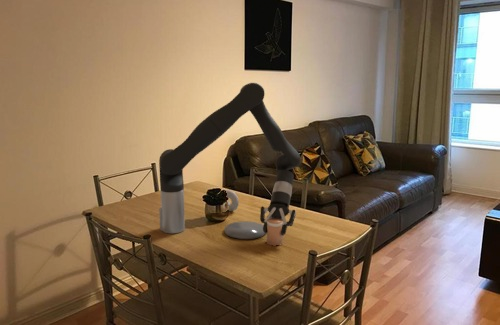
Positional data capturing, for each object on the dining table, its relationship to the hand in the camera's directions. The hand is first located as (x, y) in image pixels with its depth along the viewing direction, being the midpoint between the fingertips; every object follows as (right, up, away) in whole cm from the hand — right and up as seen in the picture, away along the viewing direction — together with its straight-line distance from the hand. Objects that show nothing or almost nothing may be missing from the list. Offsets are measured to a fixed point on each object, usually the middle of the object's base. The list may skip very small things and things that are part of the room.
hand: (273, 233), depth 158 cm
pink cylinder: (0, -4, +3) cm, 5 cm away
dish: (-11, -1, +13) cm, 17 cm away
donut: (-18, +4, +39) cm, 43 cm away
